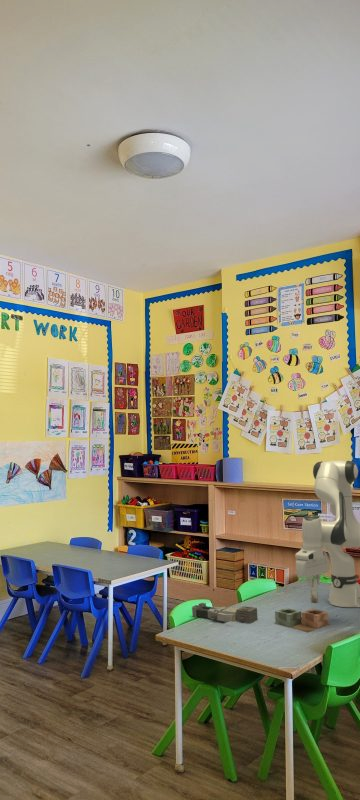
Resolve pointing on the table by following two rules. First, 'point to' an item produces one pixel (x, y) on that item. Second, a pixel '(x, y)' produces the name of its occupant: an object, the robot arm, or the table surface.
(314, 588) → the metal pin
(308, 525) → the robot arm
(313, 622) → the dock board
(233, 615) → the toy figure
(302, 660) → the table surface
